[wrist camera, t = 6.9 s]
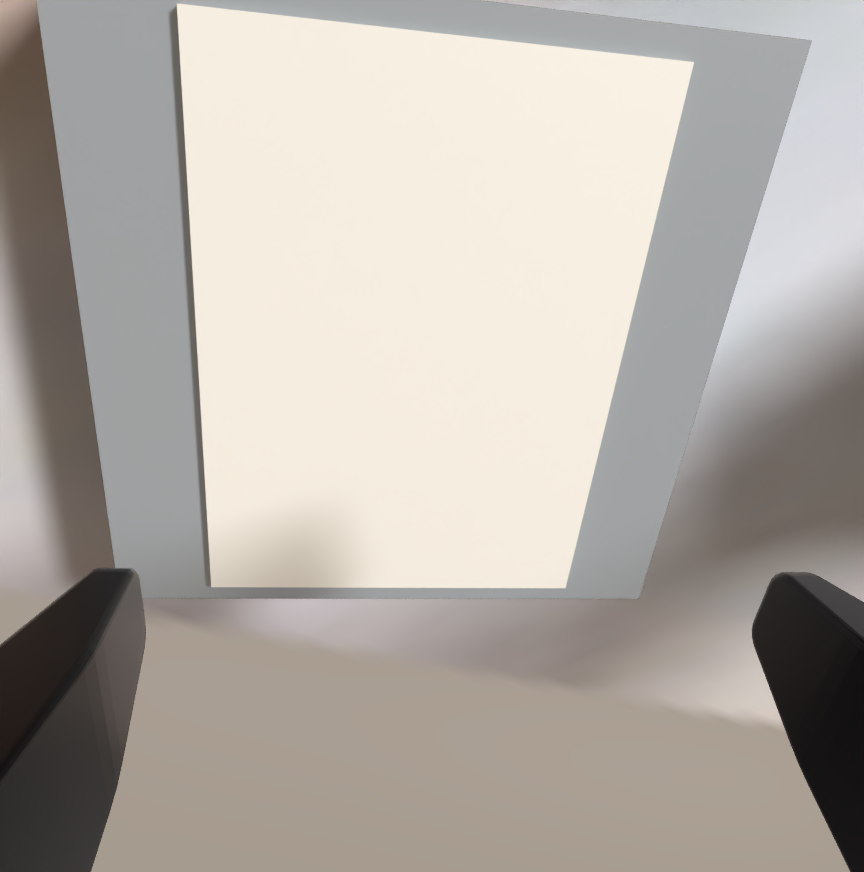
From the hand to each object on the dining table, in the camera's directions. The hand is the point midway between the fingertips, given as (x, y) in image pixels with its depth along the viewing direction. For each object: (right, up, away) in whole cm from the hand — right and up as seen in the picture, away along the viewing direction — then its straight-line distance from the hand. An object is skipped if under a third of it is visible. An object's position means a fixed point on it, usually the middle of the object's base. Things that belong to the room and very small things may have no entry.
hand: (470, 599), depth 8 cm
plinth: (-1, +5, +8) cm, 10 cm away
